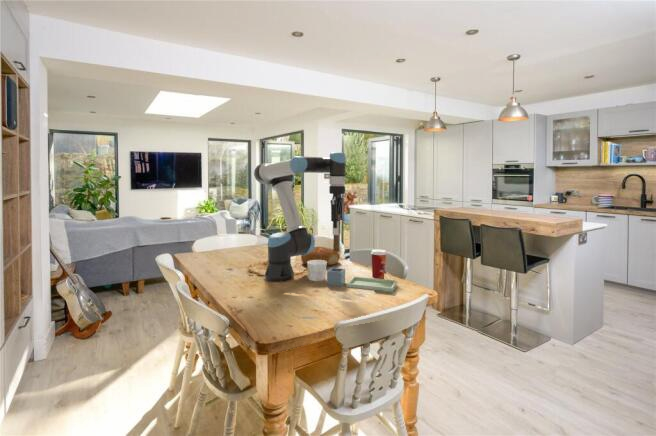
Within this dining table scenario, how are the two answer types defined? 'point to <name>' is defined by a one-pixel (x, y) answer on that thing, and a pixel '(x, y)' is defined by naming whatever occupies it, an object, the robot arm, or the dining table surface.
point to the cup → (316, 270)
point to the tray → (373, 284)
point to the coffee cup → (378, 263)
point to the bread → (321, 256)
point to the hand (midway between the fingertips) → (336, 234)
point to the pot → (336, 277)
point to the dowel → (337, 239)
